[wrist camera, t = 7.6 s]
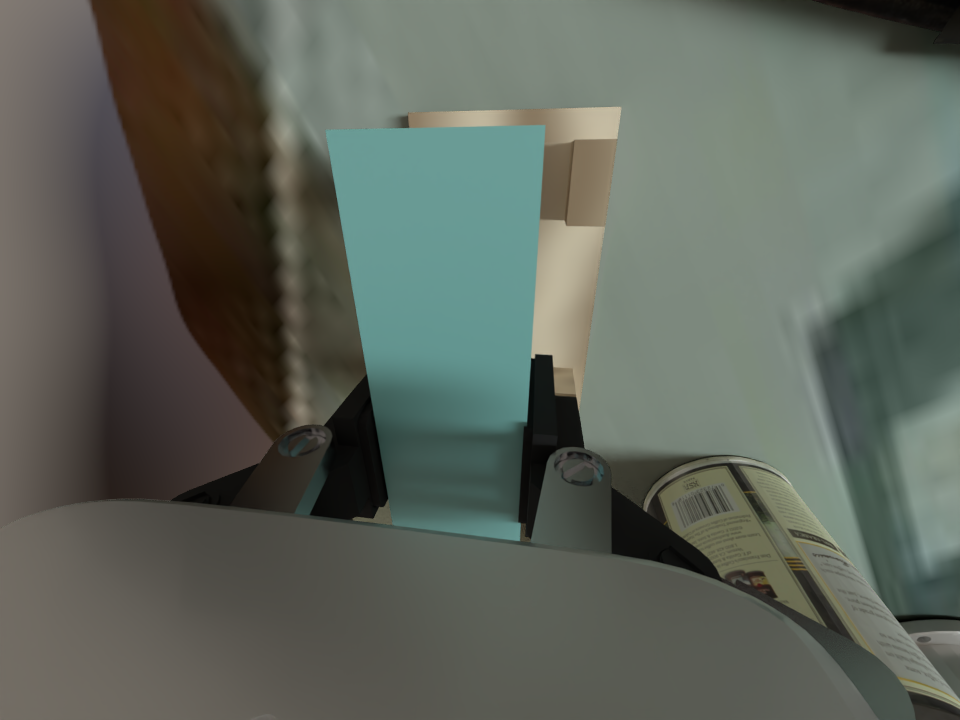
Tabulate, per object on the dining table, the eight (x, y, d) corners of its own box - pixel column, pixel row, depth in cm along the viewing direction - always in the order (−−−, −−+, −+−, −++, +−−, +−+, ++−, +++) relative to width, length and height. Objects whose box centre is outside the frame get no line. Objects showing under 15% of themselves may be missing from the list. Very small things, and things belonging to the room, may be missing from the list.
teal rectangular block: (543, 140, 9) (545, 125, 6) (519, 529, 16) (514, 635, 12) (398, 142, 10) (316, 129, 6) (434, 519, 16) (404, 619, 13)
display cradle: (617, 110, 18) (647, 86, 13) (575, 419, 26) (583, 480, 21) (414, 115, 19) (367, 96, 14) (435, 407, 27) (411, 462, 22)
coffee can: (726, 570, 31) (851, 845, 18) (615, 520, 30) (667, 771, 17) (833, 493, 26) (1103, 797, 13) (704, 431, 25) (862, 691, 13)
